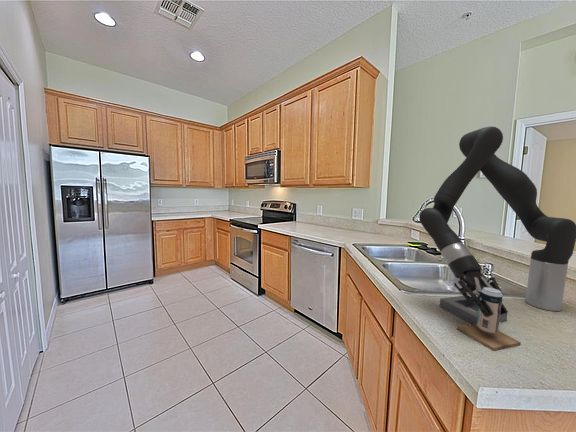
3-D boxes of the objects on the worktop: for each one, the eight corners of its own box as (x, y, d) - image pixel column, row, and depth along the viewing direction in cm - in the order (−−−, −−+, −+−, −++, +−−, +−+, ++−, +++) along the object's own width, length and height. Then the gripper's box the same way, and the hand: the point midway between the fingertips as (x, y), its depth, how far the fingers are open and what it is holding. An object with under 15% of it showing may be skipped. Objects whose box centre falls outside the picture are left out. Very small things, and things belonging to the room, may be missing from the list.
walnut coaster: (482, 325, 74) (482, 322, 74) (520, 345, 64) (520, 342, 64) (457, 329, 71) (457, 326, 71) (493, 350, 62) (493, 347, 62)
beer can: (502, 335, 65) (507, 294, 64) (482, 333, 66) (487, 292, 65) (491, 326, 70) (496, 287, 68) (473, 323, 71) (477, 285, 69)
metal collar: (467, 302, 89) (467, 295, 89) (506, 321, 76) (507, 312, 76) (439, 306, 86) (440, 298, 85) (476, 326, 73) (477, 316, 73)
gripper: (450, 255, 71) (489, 313, 61) (486, 253, 75) (528, 307, 64) (434, 266, 77) (466, 321, 66) (468, 264, 80) (503, 315, 70)
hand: (496, 314), depth 65 cm, fingers closed on beer can, 4 cm apart
